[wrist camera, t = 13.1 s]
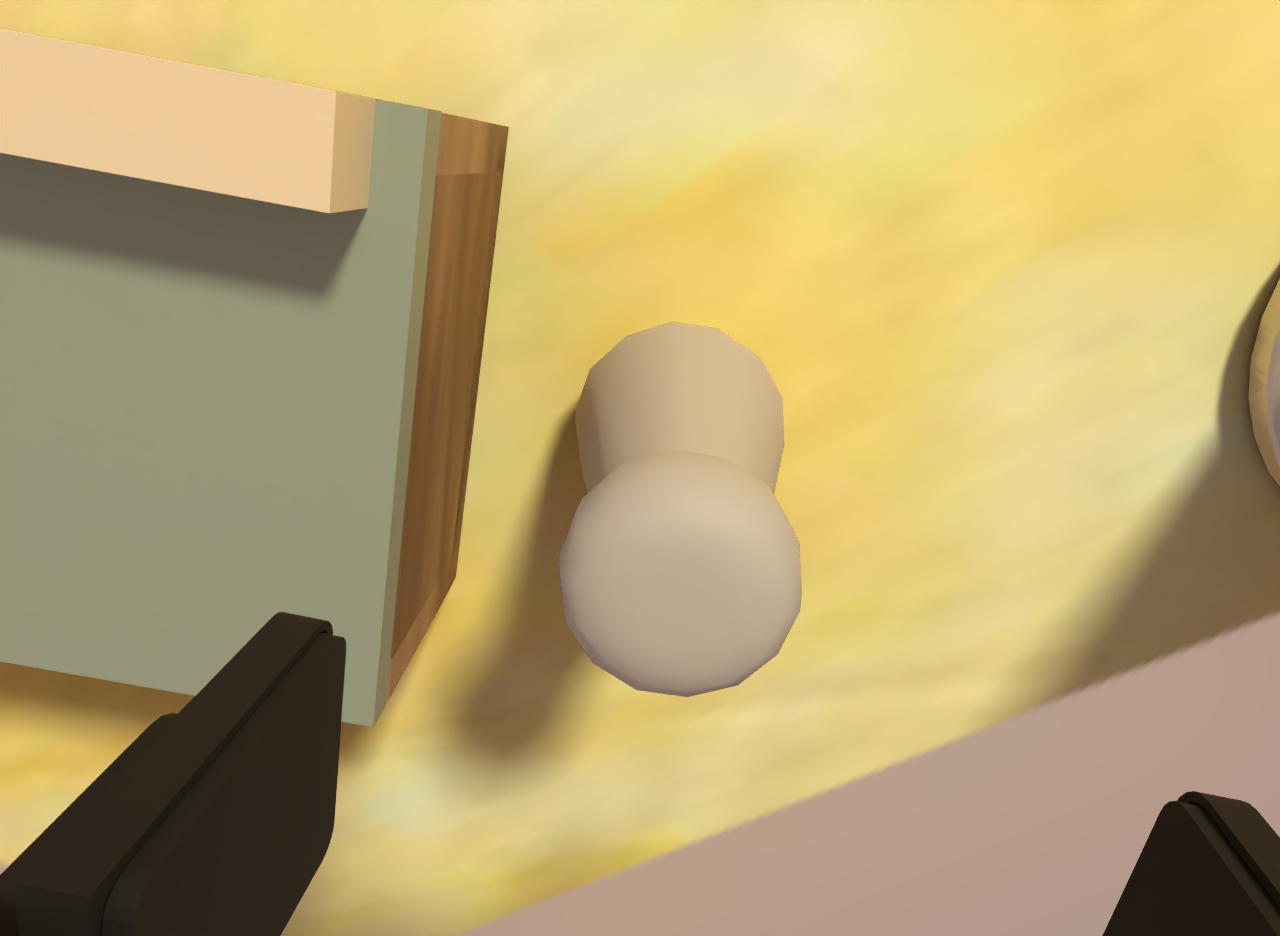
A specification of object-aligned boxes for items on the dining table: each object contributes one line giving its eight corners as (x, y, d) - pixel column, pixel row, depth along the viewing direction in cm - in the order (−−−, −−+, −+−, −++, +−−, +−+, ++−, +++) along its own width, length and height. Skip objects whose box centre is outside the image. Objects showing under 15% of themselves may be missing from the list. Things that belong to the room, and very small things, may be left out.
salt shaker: (672, 529, 28) (665, 813, 16) (545, 400, 27) (430, 600, 15) (815, 408, 27) (930, 619, 14) (687, 267, 25) (692, 365, 13)
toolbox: (508, 127, 24) (443, 113, 18) (455, 577, 29) (388, 699, 22) (-215, -8, 24) (-552, -72, 18) (-153, 468, 29) (-402, 559, 22)
